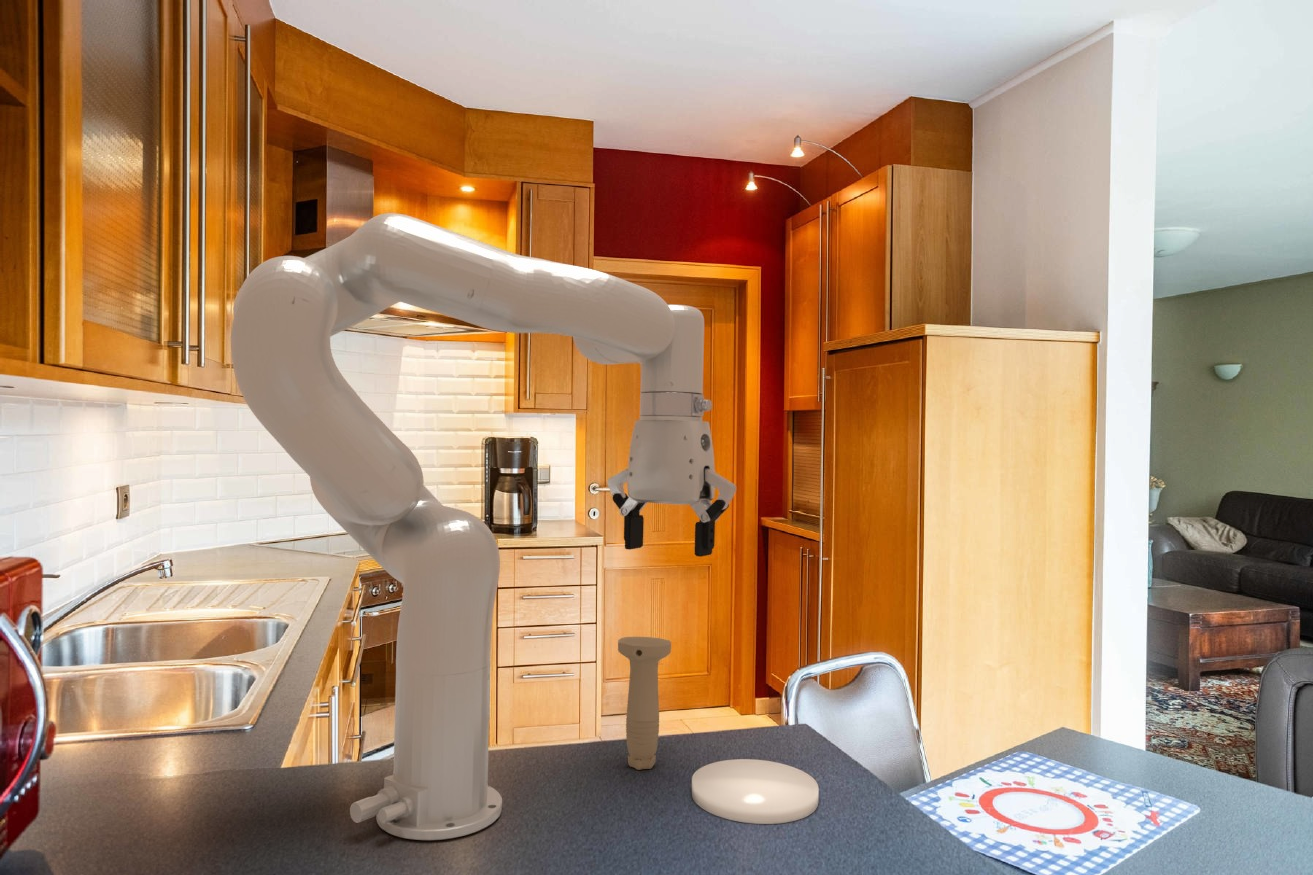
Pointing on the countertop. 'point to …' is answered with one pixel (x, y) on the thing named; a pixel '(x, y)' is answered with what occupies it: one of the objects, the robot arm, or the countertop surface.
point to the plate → (755, 791)
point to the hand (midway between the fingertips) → (667, 551)
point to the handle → (643, 697)
